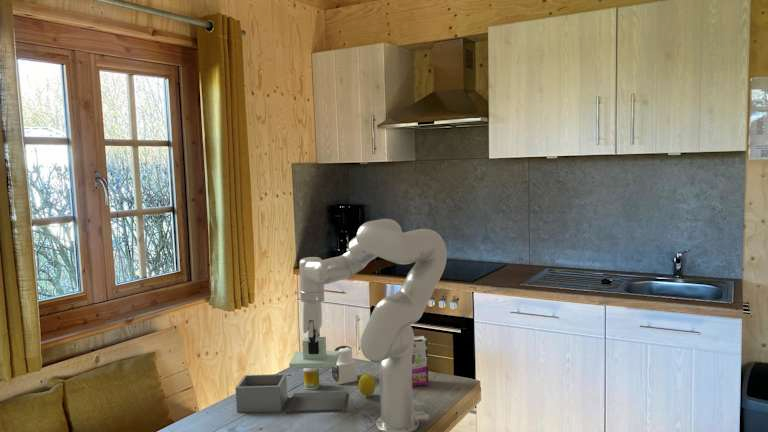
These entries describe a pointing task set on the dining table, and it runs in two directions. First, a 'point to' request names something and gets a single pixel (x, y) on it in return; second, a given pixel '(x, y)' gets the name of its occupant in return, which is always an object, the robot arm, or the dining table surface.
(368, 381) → the lemon
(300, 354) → the lid
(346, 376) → the medicine bottle
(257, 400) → the storage box
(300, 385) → the dining table surface
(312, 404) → the mat
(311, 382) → the supplement bottle
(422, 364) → the candy bar box
